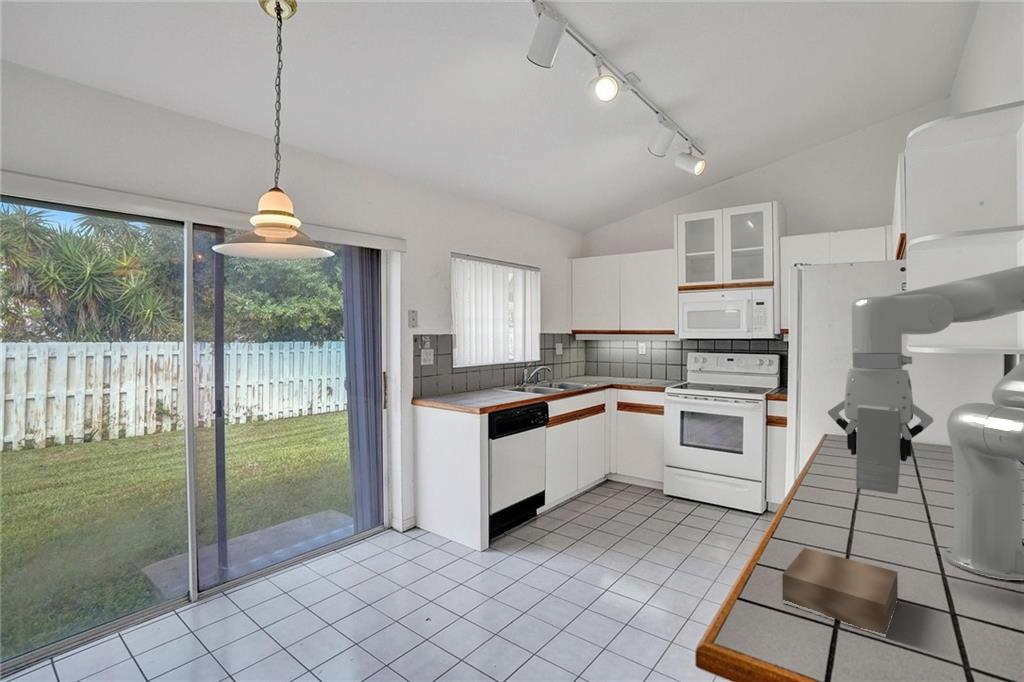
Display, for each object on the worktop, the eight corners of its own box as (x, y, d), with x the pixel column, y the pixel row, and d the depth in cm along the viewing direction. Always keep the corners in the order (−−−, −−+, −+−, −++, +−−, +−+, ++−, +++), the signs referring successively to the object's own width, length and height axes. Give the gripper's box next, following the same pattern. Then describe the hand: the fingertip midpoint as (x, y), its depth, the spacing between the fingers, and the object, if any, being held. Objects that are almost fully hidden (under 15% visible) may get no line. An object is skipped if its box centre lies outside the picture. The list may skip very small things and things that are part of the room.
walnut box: (897, 600, 83) (897, 571, 83) (885, 638, 73) (885, 605, 73) (804, 573, 93) (804, 547, 93) (782, 603, 83) (782, 574, 83)
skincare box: (858, 478, 98) (855, 399, 98) (903, 483, 94) (901, 401, 93) (854, 489, 92) (851, 404, 91) (903, 496, 87) (900, 407, 87)
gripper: (939, 362, 89) (941, 459, 89) (827, 360, 101) (829, 446, 101) (936, 364, 83) (938, 468, 84) (818, 362, 96) (820, 453, 96)
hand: (878, 455), depth 92 cm, fingers closed on skincare box, 6 cm apart
